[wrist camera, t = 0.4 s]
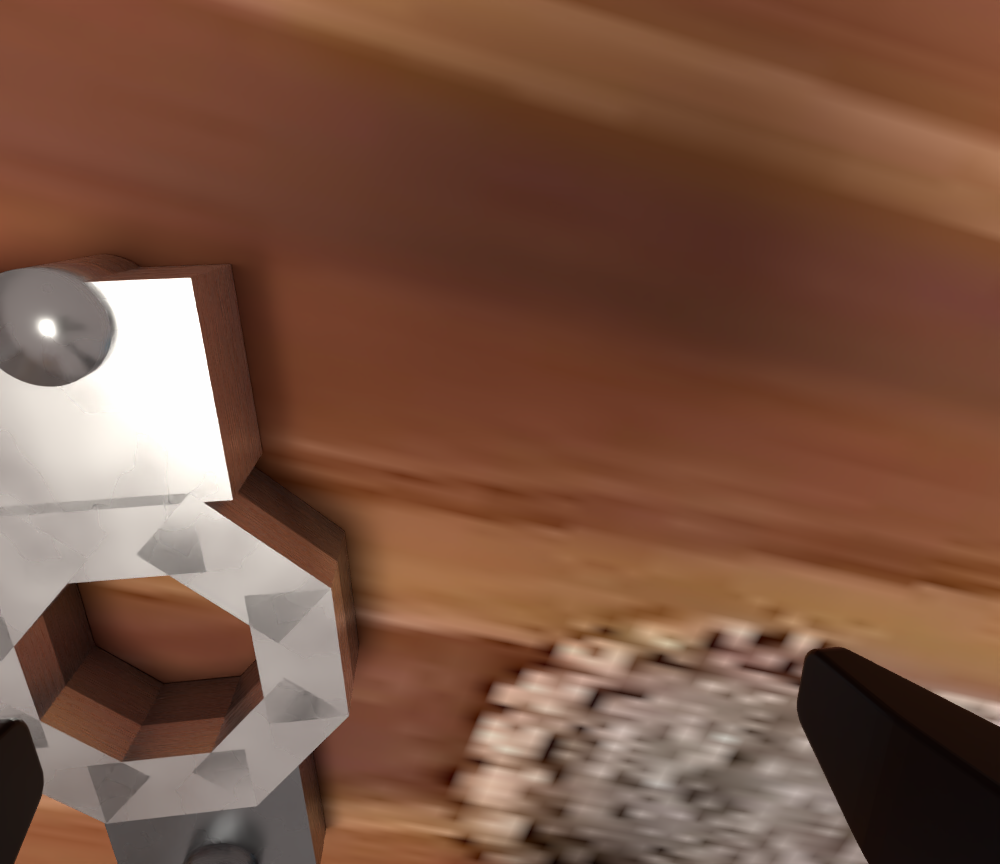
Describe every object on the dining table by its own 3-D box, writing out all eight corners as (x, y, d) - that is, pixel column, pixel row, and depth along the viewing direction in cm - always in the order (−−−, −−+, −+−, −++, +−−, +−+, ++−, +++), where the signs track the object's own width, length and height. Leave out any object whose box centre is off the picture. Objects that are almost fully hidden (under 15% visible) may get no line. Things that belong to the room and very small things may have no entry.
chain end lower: (382, 829, 27) (377, 907, 24) (93, 864, 26) (51, 950, 23) (333, 439, 21) (318, 479, 18) (-47, 463, 20) (-129, 510, 17)
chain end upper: (368, 716, 25) (358, 807, 21) (53, 749, 24) (-15, 850, 20) (308, 246, 19) (281, 259, 15) (-117, 262, 18) (-259, 279, 14)
